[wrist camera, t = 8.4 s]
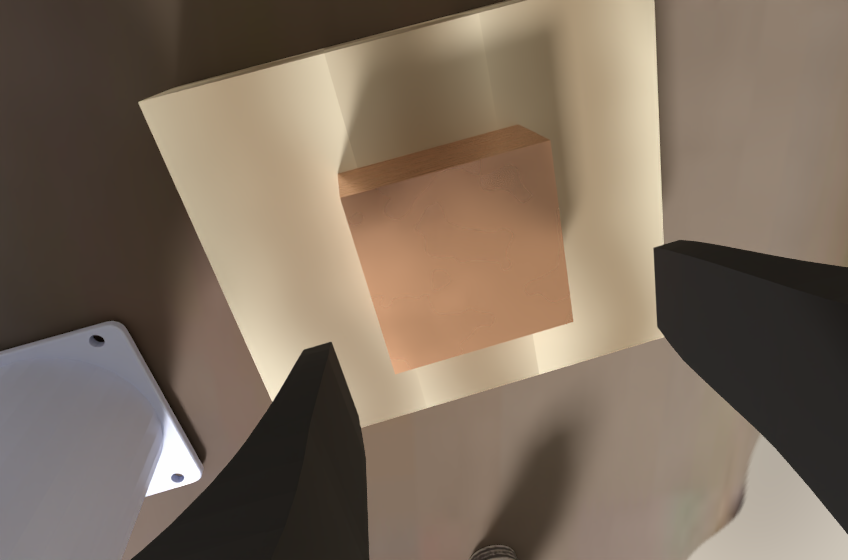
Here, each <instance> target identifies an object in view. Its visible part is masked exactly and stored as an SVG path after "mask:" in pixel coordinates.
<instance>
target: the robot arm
mask: <svg viewBox="0 0 848 560" xmlns="http://www.w3.org/2000/svg"><path fill="white" fill-rule="evenodd" d="M653 251H654V272H655V293H656V314H657V327H658V329H659V330H660V331H661V333H662V334H663V335H664V337H665V338H666V339H667V341H668V342H669V343H670V344H671V346H672V347H673V348H674V349H675V351H676V352H677V353H678V354H679V355H680V357H681V358H682V359H683V360H684V361H685V362H686V363H687V364H688V365H689V366H690V367H691V368H692V369H693V370H694V371H695V372H696V373H697V374H698V375H699V376H700V377H701V378H702V379H703V380H704V381H705V382H706V383H708V384H709V385H710V386H711V387H712V388H713V389H714V390H715V391H716V392H717V393H718V394H719V395H720V396H721V397H723V398H724V399H725V400H726V401H727V402H728V403H729V404H730V405H731V406H732V407H733V408H734V409H735V410H736V411H738V412H739V413H740V414H741V415H742V416H743V417H744V418H745V419H746V420H747V421H748V422H749V423H750V424H751V425H753V426H754V427H755V428H756V429H757V430H758V431H759V432H760V433H761V434H762V435H763V436H764V437H765V438H766V439H767V440H768V441H769V442H770V443H771V444H772V445H773V446H774V447H775V448H776V449H777V451H778V452H779V453H780V454H781V455H782V456H783V457H784V459H786V461H787V462H788V463H789V464H790V465H791V467H792V468H793V469H794V470H795V471H796V472H797V473H798V474H799V476H800V477H801V478H802V479H803V480H804V482H805V483H806V484H807V485H808V486H809V487H810V488H811V490H812V491H813V492H814V493H815V495H816V496H817V497H818V498H819V499H820V501H821V502H822V503H823V504H824V506H825V507H826V508H827V509H828V511H829V512H830V513H831V514H832V515H833V517H834V518H835V519H836V520H837V522H838V523H839V524H840V525H841V526H842V528H843V529H844V530H845V531H846V533H847V534H848V267H841V266H834V265H827V264H821V263H814V262H807V261H801V260H796V259H790V258H784V257H778V256H773V255H768V254H762V253H757V252H752V251H747V250H742V249H736V248H731V247H726V246H720V245H715V244H709V243H703V242H696V241H686V240H678V241H675V242H672V243H668V244H665V245H661V246H658V247H654V248H653ZM93 335H99V336H101V337H102V338H103V339H104V341H105V342H99V341H96V340H95V339H94V338H93ZM202 472H203V465H202V463H201V461H200V460H199V458H198V456H197V454H196V452H195V451H194V449H193V447H192V445H191V443H190V442H189V440H188V438H187V436H186V434H185V433H184V431H183V429H182V427H181V425H180V424H179V422H178V420H177V418H176V416H175V415H174V413H173V411H172V409H171V408H170V406H169V404H168V402H167V400H166V399H165V397H164V395H163V393H162V391H161V390H160V388H159V386H158V384H157V382H156V381H155V379H154V377H153V375H152V373H151V372H150V370H149V368H148V366H147V364H146V363H145V361H144V359H143V357H142V355H141V354H140V352H139V350H138V348H137V346H136V345H135V343H134V341H133V339H132V337H131V336H130V334H129V332H128V330H127V329H126V327H125V326H124V325H123V324H121V323H119V322H116V321H107V322H103V323H100V324H96V325H93V326H89V327H85V328H82V329H78V330H75V331H71V332H68V333H64V334H61V335H57V336H54V337H50V338H46V339H43V340H39V341H36V342H32V343H29V344H25V345H22V346H18V347H14V348H11V349H7V350H4V351H0V560H121V559H122V557H123V554H124V551H125V549H126V546H127V543H128V541H129V538H130V535H131V533H132V530H133V527H134V525H135V522H136V519H137V517H138V514H139V511H140V509H141V506H142V503H143V501H144V498H145V497H146V496H149V495H153V494H156V493H159V492H163V491H166V490H169V489H173V488H176V487H179V486H183V485H186V484H189V483H193V482H195V481H198V480H199V479H200V478H201V476H202ZM175 473H180V474H182V475H183V476H177V475H175ZM131 560H369V541H368V510H367V481H366V457H365V450H364V444H363V438H362V432H361V426H360V420H359V415H358V413H357V410H356V407H355V404H354V402H353V399H352V396H351V393H350V391H349V388H348V385H347V382H346V380H345V377H344V374H343V371H342V369H341V366H340V363H339V360H338V358H337V355H336V352H335V349H334V347H333V344H332V342H328V343H325V344H321V345H318V346H314V347H311V348H308V349H304V350H303V351H302V353H301V355H300V356H299V358H298V360H297V361H296V363H295V365H294V366H293V368H292V370H291V372H290V373H289V375H288V377H287V379H286V380H285V382H284V384H283V385H282V387H281V389H280V391H279V392H278V394H277V395H276V397H275V399H274V400H273V402H272V404H271V405H270V407H269V408H268V410H267V412H266V413H265V414H264V416H263V417H262V419H261V420H260V422H259V423H258V425H257V426H256V427H255V429H254V430H253V432H252V433H251V435H250V436H249V438H248V439H247V440H246V442H245V443H244V444H243V446H242V447H241V448H240V450H239V451H238V452H237V453H236V455H235V456H234V457H233V458H232V460H231V461H230V462H229V463H228V464H227V466H226V467H225V468H224V469H223V470H222V471H221V473H220V474H219V475H218V476H217V477H216V478H215V480H214V481H213V482H212V483H211V484H210V485H209V486H208V487H207V488H206V489H205V490H204V491H203V492H202V493H201V494H200V495H199V496H198V497H197V498H196V499H195V501H194V502H193V503H192V504H191V505H190V506H189V507H188V508H187V509H186V510H185V511H184V512H183V513H182V514H181V515H180V516H179V517H178V518H177V519H176V520H175V521H174V522H173V523H172V524H171V525H170V526H168V527H167V528H166V529H165V530H164V531H163V532H162V533H161V534H160V535H159V536H157V537H156V538H155V539H154V540H153V541H152V542H151V543H150V544H149V545H147V546H146V547H145V548H144V549H143V550H142V551H141V552H139V553H138V554H137V555H136V556H135V557H133V558H132V559H131Z"/></svg>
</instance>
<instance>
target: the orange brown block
mask: <svg viewBox="0 0 848 560" xmlns="http://www.w3.org/2000/svg"><path fill="white" fill-rule="evenodd" d="M338 184H339V193H340V200H341V203H342V206H343V209H344V212H345V216H346V219H347V222H348V225H349V228H350V232H351V235H352V238H353V241H354V244H355V248H356V251H357V254H358V257H359V260H360V264H361V267H362V270H363V273H364V276H365V280H366V283H367V286H368V289H369V292H370V296H371V299H372V302H373V305H374V308H375V312H376V315H377V318H378V321H379V324H380V328H381V331H382V334H383V337H384V340H385V344H386V347H387V350H388V353H389V356H390V360H391V363H392V366H393V369H394V372H395V374H398V373H402V372H405V371H408V370H412V369H415V368H419V367H422V366H425V365H429V364H432V363H436V362H439V361H442V360H446V359H449V358H453V357H456V356H459V355H463V354H466V353H470V352H473V351H476V350H480V349H483V348H487V347H490V346H493V345H497V344H500V343H504V342H507V341H510V340H514V339H517V338H520V337H524V336H527V335H531V334H534V333H537V332H541V331H544V330H548V329H551V328H554V327H558V326H561V325H565V324H568V323H571V322H573V314H572V306H571V298H570V290H569V282H568V274H567V266H566V258H565V251H564V243H563V235H562V227H561V219H560V211H559V203H558V195H557V187H556V180H555V172H554V164H553V156H552V148H551V140H549V139H547V138H545V137H543V136H541V135H539V134H537V133H535V132H533V131H531V130H529V129H527V128H525V127H523V126H521V125H519V124H517V125H514V126H510V127H507V128H503V129H499V130H496V131H492V132H488V133H485V134H481V135H477V136H474V137H470V138H466V139H463V140H459V141H455V142H452V143H448V144H444V145H441V146H437V147H433V148H430V149H426V150H422V151H419V152H415V153H411V154H408V155H404V156H400V157H397V158H393V159H389V160H386V161H382V162H379V163H375V164H371V165H368V166H364V167H360V168H357V169H353V170H349V171H346V172H342V173H338Z"/></svg>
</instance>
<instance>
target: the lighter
mask: <svg viewBox="0 0 848 560" xmlns="http://www.w3.org/2000/svg"><path fill="white" fill-rule="evenodd" d="M469 560H517V557H516V555H515V552H514V551H513V550H512V549H511V548H510V547H507V546H504V545H493V546H487V547H485V548H482V549H480V550H478V551H477V552H476V553H474V554H473V555H472V557H471V558H470V559H469Z"/></svg>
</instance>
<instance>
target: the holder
mask: <svg viewBox="0 0 848 560" xmlns="http://www.w3.org/2000/svg"><path fill="white" fill-rule="evenodd" d="M138 103H139V105H140V108H141V110H142V112H143V114H144V117H145V119H146V121H147V123H148V126H149V128H150V130H151V132H152V135H153V137H154V139H155V141H156V143H157V146H158V148H159V150H160V152H161V155H162V157H163V159H164V161H165V164H166V166H167V168H168V170H169V172H170V175H171V177H172V179H173V181H174V184H175V186H176V188H177V190H178V193H179V195H180V197H181V199H182V201H183V204H184V206H185V208H186V210H187V213H188V215H189V217H190V219H191V222H192V224H193V226H194V228H195V230H196V233H197V235H198V237H199V239H200V242H201V244H202V246H203V248H204V251H205V253H206V255H207V257H208V259H209V262H210V264H211V266H212V268H213V271H214V273H215V275H216V277H217V280H218V282H219V284H220V286H221V288H222V291H223V293H224V295H225V297H226V300H227V302H228V304H229V306H230V309H231V311H232V313H233V315H234V318H235V320H236V322H237V324H238V326H239V329H240V331H241V333H242V335H243V338H244V340H245V342H246V344H247V347H248V349H249V351H250V353H251V355H252V358H253V360H254V362H255V364H256V367H257V369H258V371H259V373H260V376H261V378H262V380H263V382H264V384H265V387H266V389H267V391H268V393H269V396H270V398H271V400H272V402H273V400H274V399H275V397H276V395H277V394H278V392H279V391H280V389H281V387H282V385H283V384H284V382H285V380H286V379H287V377H288V375H289V373H290V372H291V370H292V368H293V366H294V365H295V363H296V361H297V360H298V358H299V356H300V355H301V353H302V351H303V350H304V349H308V348H311V347H314V346H318V345H321V344H325V343H328V342H332V344H333V347H334V349H335V352H336V355H337V358H338V360H339V363H340V366H341V369H342V371H343V374H344V377H345V380H346V382H347V385H348V388H349V391H350V393H351V396H352V399H353V402H354V404H355V407H356V410H357V413H358V415H359V420H360V426H361V428H362V427H365V426H369V425H372V424H375V423H379V422H382V421H385V420H389V419H392V418H395V417H399V416H402V415H405V414H409V413H412V412H415V411H419V410H422V409H425V408H429V407H432V406H435V405H439V404H442V403H445V402H449V401H452V400H456V399H459V398H462V397H466V396H469V395H472V394H476V393H479V392H482V391H486V390H489V389H492V388H496V387H499V386H502V385H506V384H509V383H512V382H516V381H519V380H522V379H526V378H529V377H533V376H536V375H539V374H543V373H546V372H549V371H553V370H556V369H559V368H563V367H566V366H569V365H573V364H576V363H579V362H583V361H586V360H589V359H593V358H596V357H599V356H603V355H606V354H609V353H613V352H616V351H620V350H623V349H626V348H630V347H633V346H636V345H640V344H643V343H646V342H650V341H653V340H656V339H660V338H663V337H664V335H663V334H662V333H661V331H660V330H659V329H658V327H657V314H656V293H655V272H654V251H653V248H654V247H658V246H661V245H664V241H663V215H662V188H661V162H660V136H659V109H658V83H657V57H656V30H655V4H654V0H506V1H503V2H499V3H495V4H491V5H487V6H483V7H480V8H476V9H472V10H468V11H464V12H460V13H457V14H453V15H449V16H445V17H441V18H437V19H434V20H430V21H426V22H422V23H418V24H414V25H411V26H407V27H403V28H399V29H395V30H391V31H388V32H384V33H380V34H376V35H372V36H369V37H365V38H361V39H357V40H353V41H349V42H346V43H342V44H338V45H334V46H330V47H326V48H323V49H319V50H315V51H311V52H307V53H303V54H300V55H296V56H292V57H288V58H284V59H280V60H277V61H273V62H269V63H265V64H261V65H257V66H254V67H250V68H246V69H242V70H238V71H234V72H231V73H227V74H223V75H219V76H215V77H211V78H208V79H204V80H200V81H196V82H192V83H188V84H185V85H181V86H177V87H174V88H171V89H169V90H166V91H164V92H162V93H159V94H157V95H154V96H152V97H149V98H147V99H144V100H142V101H139V102H138ZM517 124H519V125H521V126H523V127H525V128H527V129H529V130H531V131H533V132H535V133H537V134H539V135H541V136H543V137H545V138H547V139H549V140H551V148H552V156H553V164H554V172H555V180H556V187H557V195H558V203H559V211H560V219H561V227H562V235H563V243H564V251H565V258H566V266H567V274H568V282H569V290H570V298H571V306H572V314H573V322H571V323H568V324H565V325H561V326H558V327H554V328H551V329H548V330H544V331H541V332H537V333H534V334H531V335H527V336H524V337H520V338H517V339H514V340H510V341H507V342H504V343H500V344H497V345H493V346H490V347H487V348H483V349H480V350H476V351H473V352H470V353H466V354H463V355H459V356H456V357H453V358H449V359H446V360H442V361H439V362H436V363H432V364H429V365H425V366H422V367H419V368H415V369H412V370H408V371H405V372H402V373H398V374H395V372H394V369H393V366H392V363H391V360H390V356H389V353H388V350H387V347H386V344H385V340H384V337H383V334H382V331H381V328H380V324H379V321H378V318H377V315H376V312H375V308H374V305H373V302H372V299H371V296H370V292H369V289H368V286H367V283H366V280H365V276H364V273H363V270H362V267H361V264H360V260H359V257H358V254H357V251H356V248H355V244H354V241H353V238H352V235H351V232H350V228H349V225H348V222H347V219H346V216H345V212H344V209H343V206H342V203H341V200H340V193H339V184H338V173H342V172H346V171H349V170H353V169H357V168H360V167H364V166H368V165H371V164H375V163H379V162H382V161H386V160H389V159H393V158H397V157H400V156H404V155H408V154H411V153H415V152H419V151H422V150H426V149H430V148H433V147H437V146H441V145H444V144H448V143H452V142H455V141H459V140H463V139H466V138H470V137H474V136H477V135H481V134H485V133H488V132H492V131H496V130H499V129H503V128H507V127H510V126H514V125H517Z"/></svg>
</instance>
